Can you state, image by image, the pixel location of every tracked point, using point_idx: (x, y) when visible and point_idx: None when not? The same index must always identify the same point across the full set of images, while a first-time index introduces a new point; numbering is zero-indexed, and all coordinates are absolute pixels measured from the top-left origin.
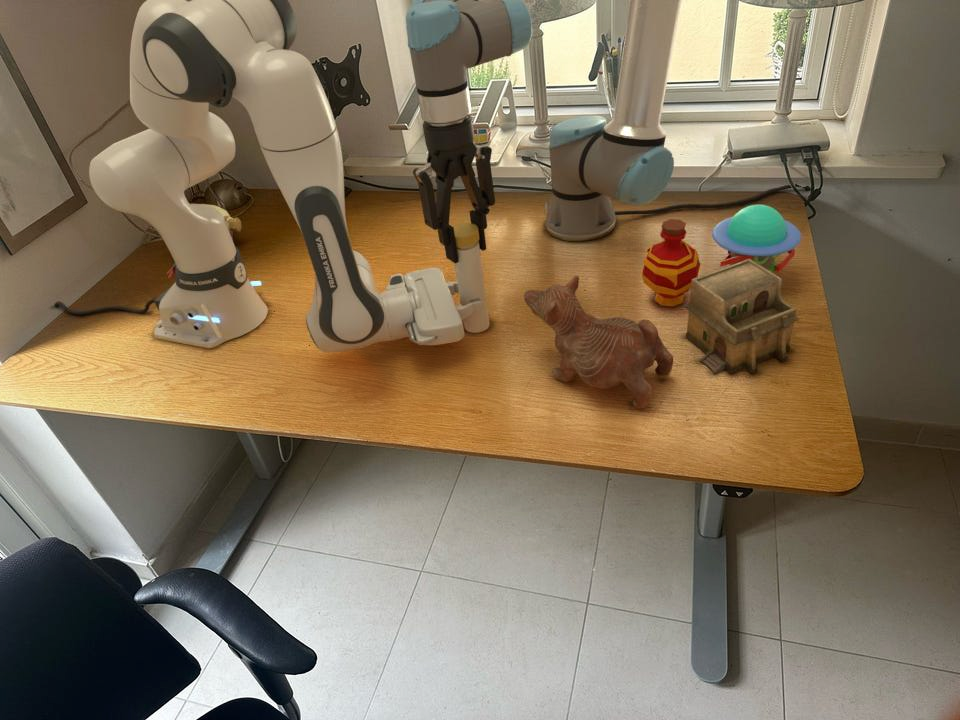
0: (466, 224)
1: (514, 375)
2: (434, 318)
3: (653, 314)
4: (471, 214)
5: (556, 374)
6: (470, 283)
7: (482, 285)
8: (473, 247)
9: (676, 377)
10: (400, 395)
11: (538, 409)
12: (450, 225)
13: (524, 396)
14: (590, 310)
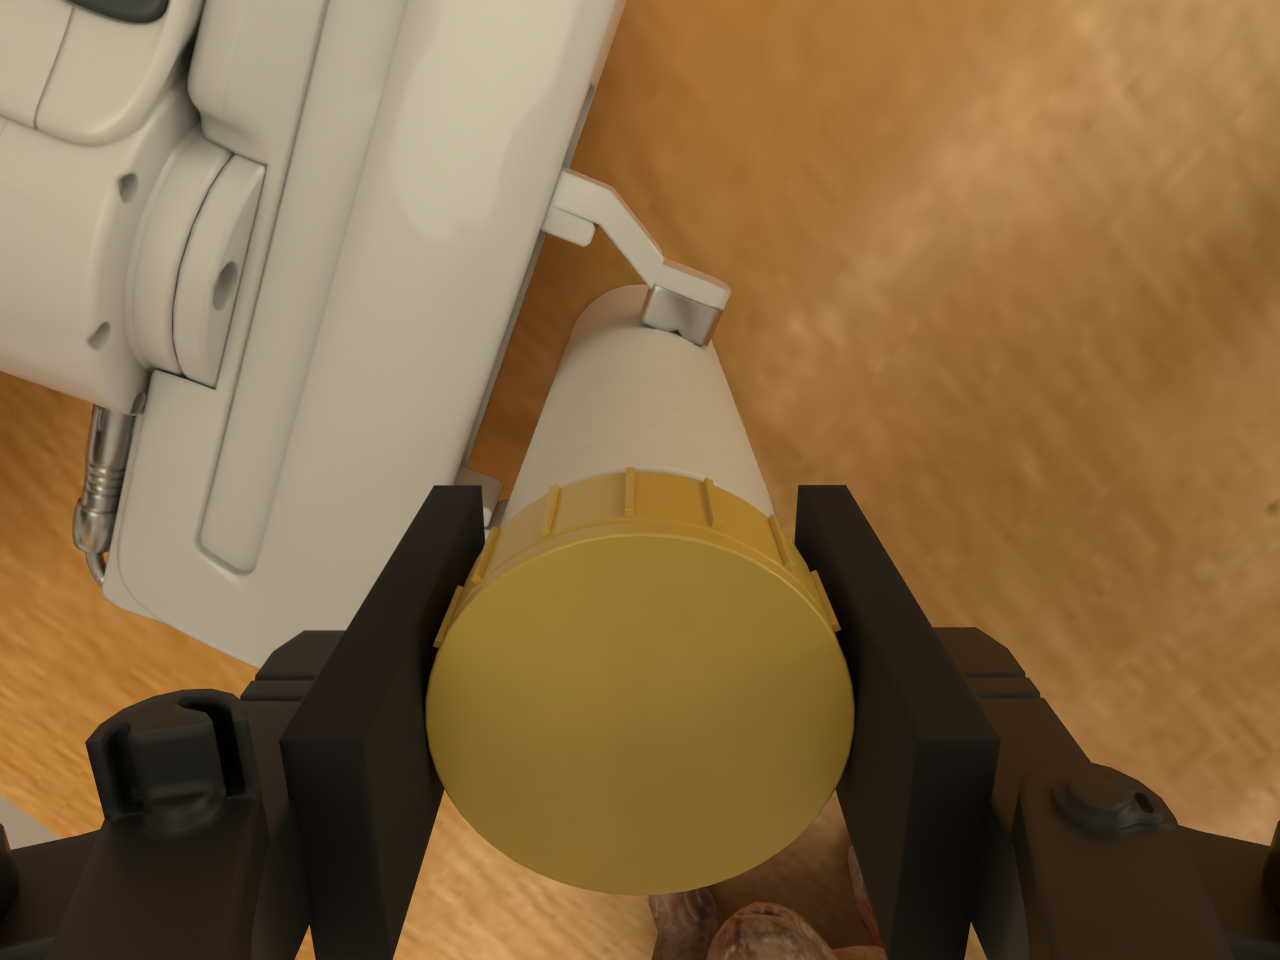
0: (772, 645)
1: None
2: (250, 544)
3: (1266, 844)
4: (900, 762)
5: (656, 911)
6: None
7: None
8: None
9: None
10: (51, 560)
11: (499, 948)
12: (381, 897)
13: (500, 876)
14: (1131, 652)
